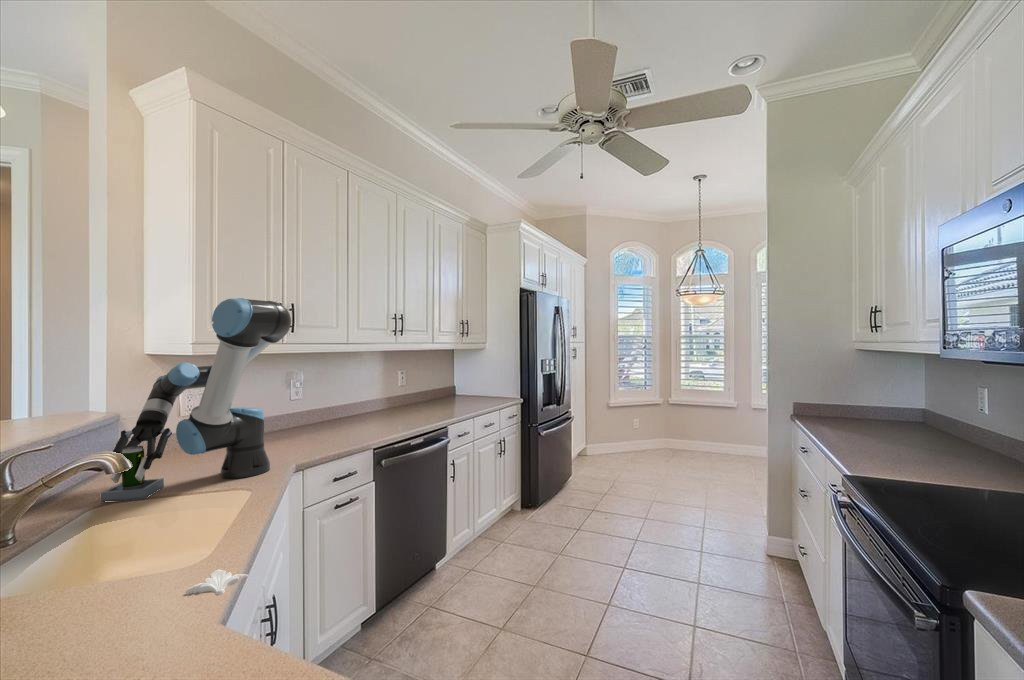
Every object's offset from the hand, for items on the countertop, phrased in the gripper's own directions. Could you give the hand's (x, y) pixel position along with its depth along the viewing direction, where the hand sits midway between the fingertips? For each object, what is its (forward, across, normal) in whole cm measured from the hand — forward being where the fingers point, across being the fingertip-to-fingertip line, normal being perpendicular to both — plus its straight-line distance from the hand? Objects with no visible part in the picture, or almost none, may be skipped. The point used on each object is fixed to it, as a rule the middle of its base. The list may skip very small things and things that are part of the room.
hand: (126, 479), depth 134 cm
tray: (+2, 0, -7) cm, 7 cm away
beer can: (0, 0, -5) cm, 5 cm away
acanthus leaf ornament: (+48, -46, +39) cm, 77 cm away
